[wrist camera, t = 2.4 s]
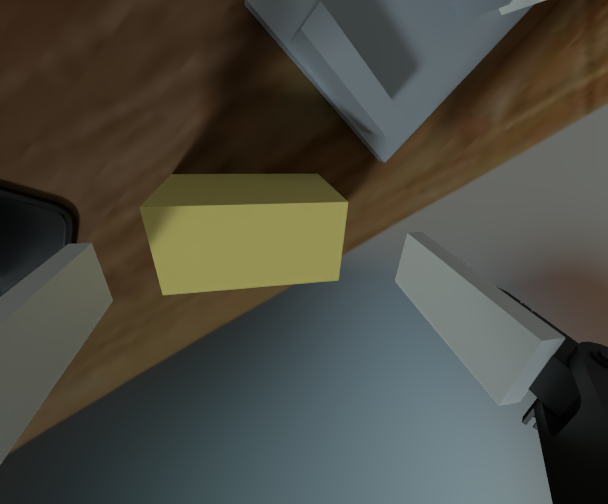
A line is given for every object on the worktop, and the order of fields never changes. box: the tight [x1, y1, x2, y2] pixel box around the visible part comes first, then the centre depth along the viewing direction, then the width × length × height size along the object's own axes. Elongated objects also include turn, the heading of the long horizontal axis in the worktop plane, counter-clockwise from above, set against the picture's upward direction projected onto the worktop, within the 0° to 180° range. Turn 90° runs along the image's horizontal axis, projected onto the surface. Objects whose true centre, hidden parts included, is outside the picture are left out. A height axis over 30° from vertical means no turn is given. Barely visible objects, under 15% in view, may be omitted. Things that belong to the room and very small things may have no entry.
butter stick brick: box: [140, 174, 348, 295], centre depth 15 cm, size 9×4×6 cm, turn 87°
